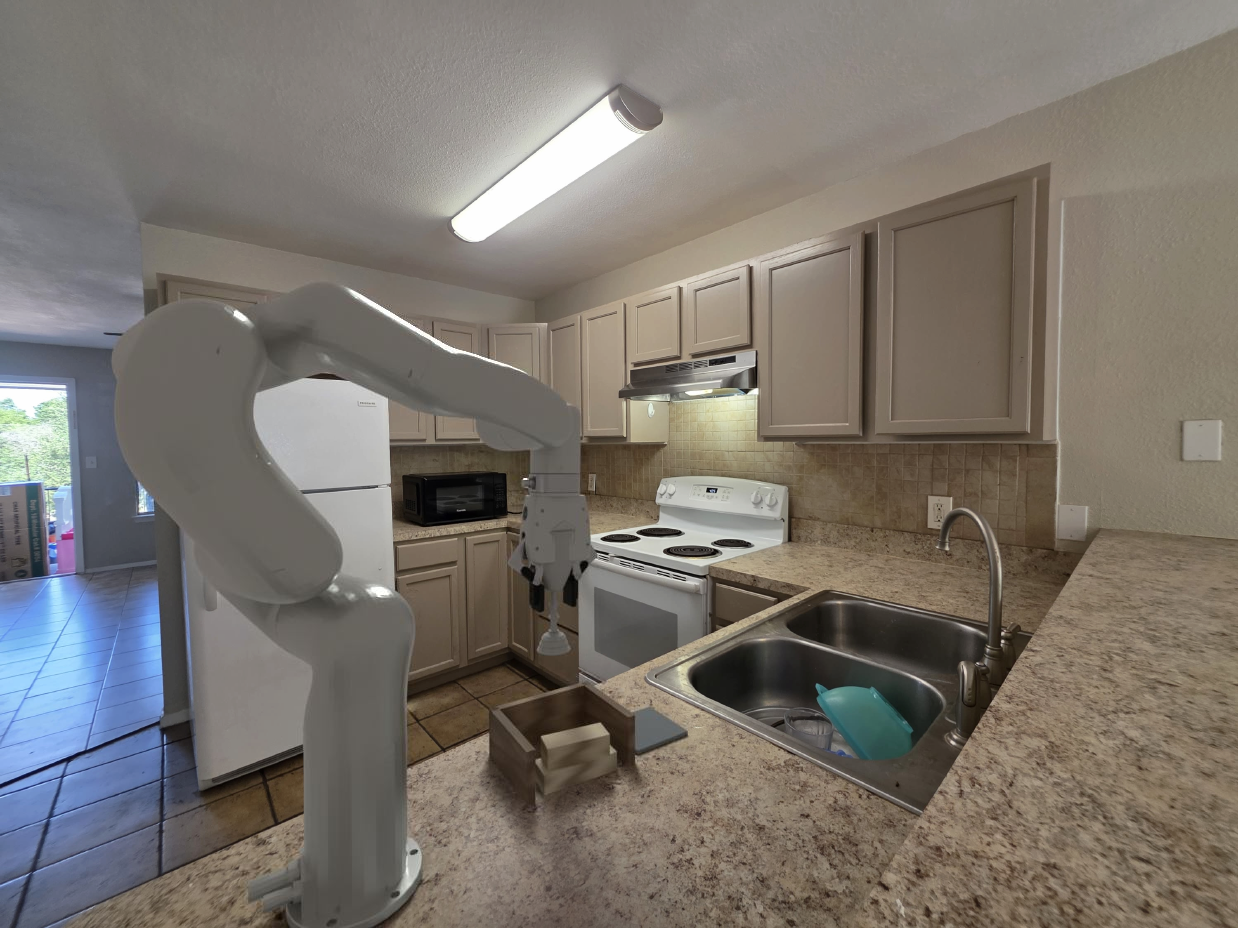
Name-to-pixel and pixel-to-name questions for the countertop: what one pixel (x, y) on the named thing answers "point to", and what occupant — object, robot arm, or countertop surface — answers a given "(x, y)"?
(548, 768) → the offcut upper
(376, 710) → the robot arm
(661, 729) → the slate tile
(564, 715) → the brown wooden u-shaped frame
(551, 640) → the chalice
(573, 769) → the offcut lower
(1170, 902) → the countertop surface
